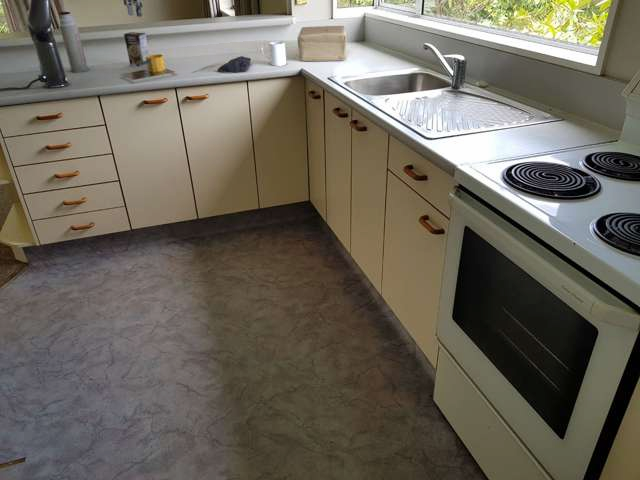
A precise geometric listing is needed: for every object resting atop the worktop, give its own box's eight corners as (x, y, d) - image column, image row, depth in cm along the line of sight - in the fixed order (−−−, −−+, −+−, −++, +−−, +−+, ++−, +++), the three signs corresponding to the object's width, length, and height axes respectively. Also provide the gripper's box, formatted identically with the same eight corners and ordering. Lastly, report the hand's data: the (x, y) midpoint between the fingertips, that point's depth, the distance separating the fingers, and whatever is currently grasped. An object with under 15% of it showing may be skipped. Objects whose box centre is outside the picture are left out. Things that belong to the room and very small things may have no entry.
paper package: (301, 51, 291) (300, 25, 284) (346, 51, 290) (346, 24, 283) (297, 62, 268) (296, 34, 261) (346, 61, 267) (346, 33, 260)
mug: (286, 62, 269) (285, 41, 263) (285, 65, 262) (283, 44, 257) (263, 62, 269) (262, 41, 264) (261, 66, 263) (259, 44, 257)
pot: (155, 67, 260) (153, 54, 256) (168, 68, 257) (166, 55, 253) (132, 75, 246) (129, 61, 243) (146, 76, 243) (143, 62, 240)
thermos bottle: (91, 68, 267) (76, 10, 252) (82, 72, 260) (66, 13, 246) (77, 68, 268) (62, 10, 254) (68, 72, 262) (52, 13, 247)
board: (133, 83, 239) (132, 79, 238) (120, 77, 250) (119, 74, 249) (176, 75, 251) (175, 71, 250) (162, 69, 261) (161, 66, 261)
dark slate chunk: (256, 62, 270) (255, 53, 267) (245, 72, 251) (245, 62, 249) (228, 62, 272) (227, 53, 269) (216, 72, 253) (214, 62, 251)
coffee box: (129, 66, 270) (123, 34, 261) (137, 63, 275) (130, 31, 267) (144, 67, 267) (138, 34, 259) (151, 64, 273) (145, 32, 264)
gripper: (113, -22, 239) (121, 15, 248) (127, -21, 230) (135, 18, 239) (128, -23, 244) (135, 14, 252) (143, -22, 235) (149, 16, 243)
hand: (135, 16), depth 245 cm, fingers open, 8 cm apart
